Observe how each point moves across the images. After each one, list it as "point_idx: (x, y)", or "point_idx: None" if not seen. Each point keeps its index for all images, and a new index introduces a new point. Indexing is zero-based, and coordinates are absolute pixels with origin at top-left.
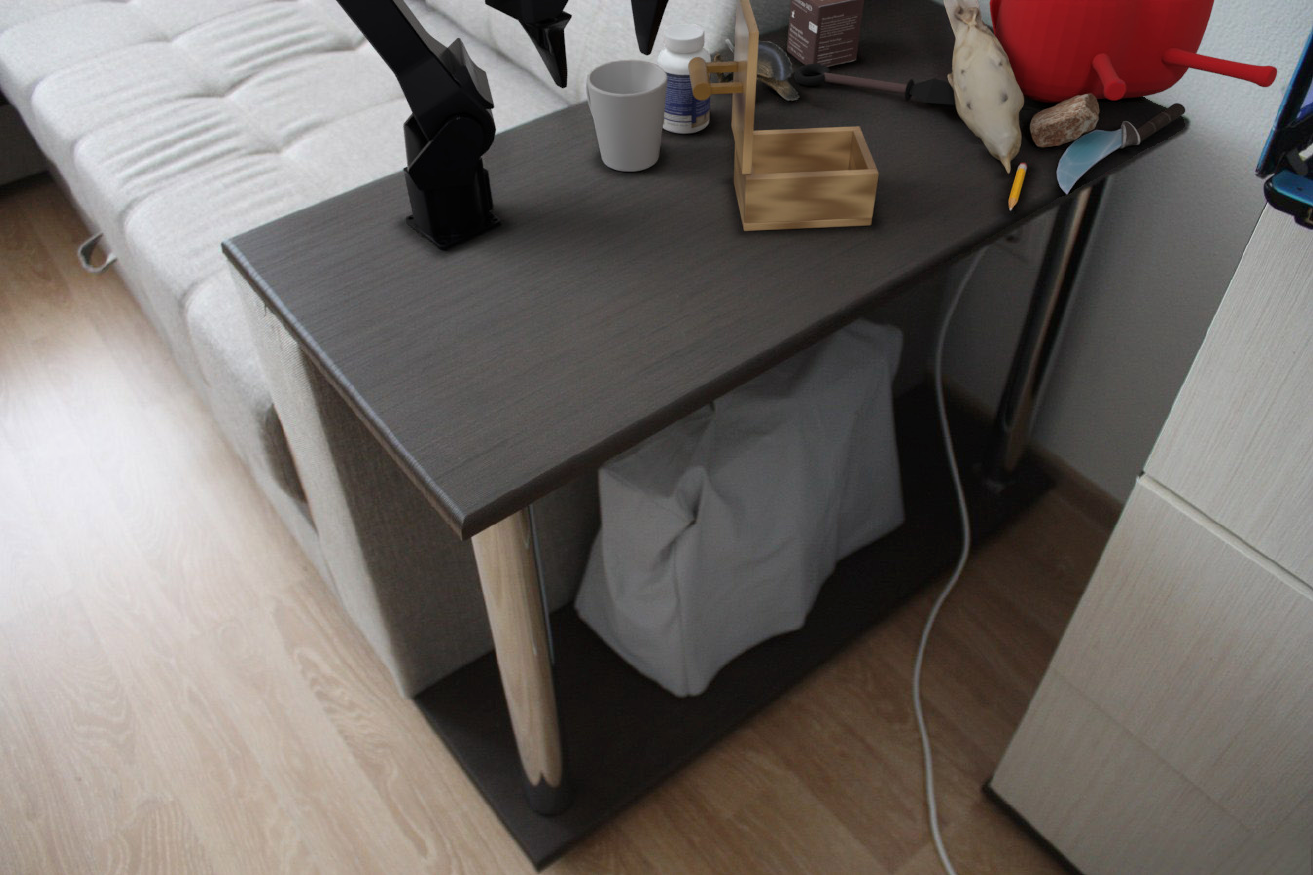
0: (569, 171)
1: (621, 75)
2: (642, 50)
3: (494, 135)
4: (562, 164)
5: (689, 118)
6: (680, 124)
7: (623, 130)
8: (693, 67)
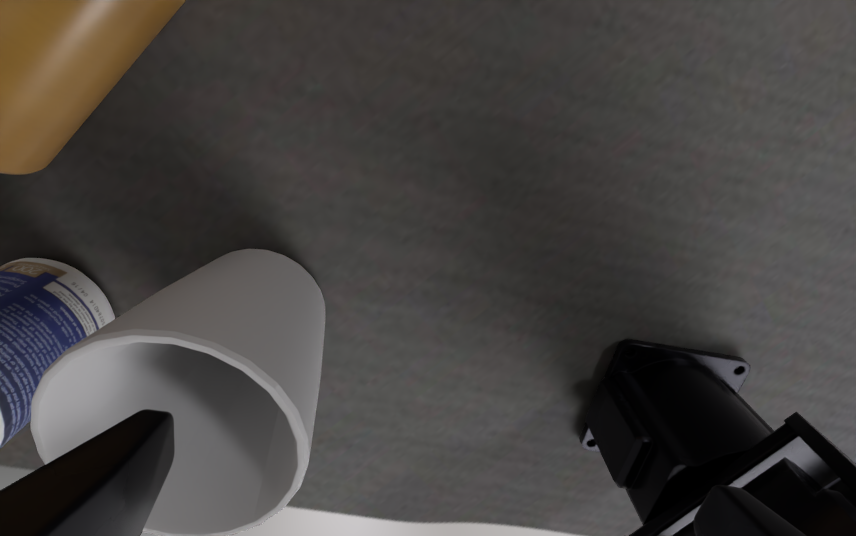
0: (385, 366)
1: None
2: (164, 456)
3: (802, 484)
4: (374, 391)
5: (53, 287)
6: (84, 295)
7: (300, 326)
8: (49, 55)
